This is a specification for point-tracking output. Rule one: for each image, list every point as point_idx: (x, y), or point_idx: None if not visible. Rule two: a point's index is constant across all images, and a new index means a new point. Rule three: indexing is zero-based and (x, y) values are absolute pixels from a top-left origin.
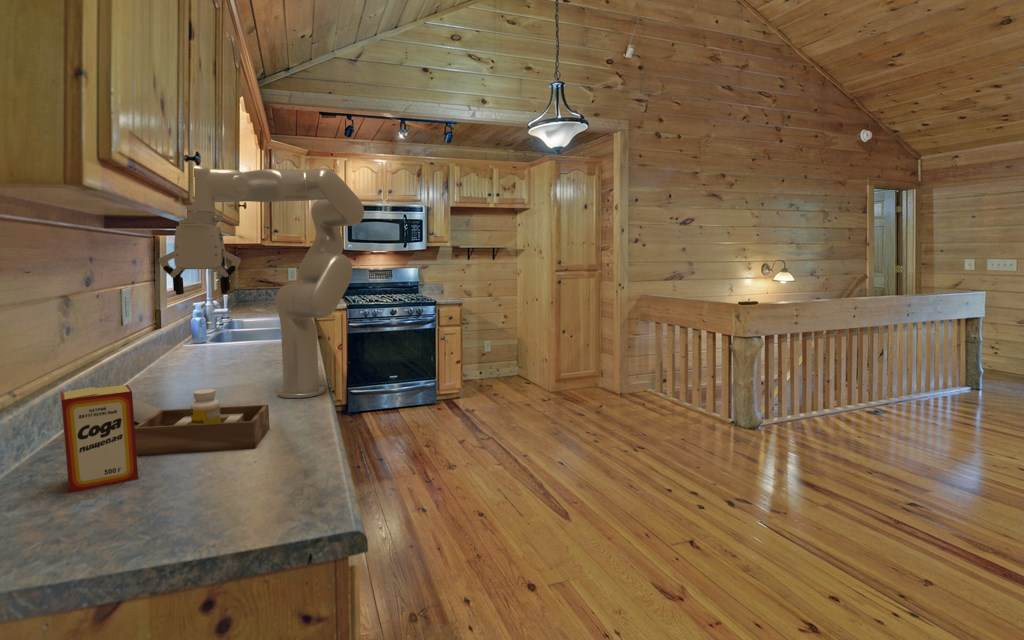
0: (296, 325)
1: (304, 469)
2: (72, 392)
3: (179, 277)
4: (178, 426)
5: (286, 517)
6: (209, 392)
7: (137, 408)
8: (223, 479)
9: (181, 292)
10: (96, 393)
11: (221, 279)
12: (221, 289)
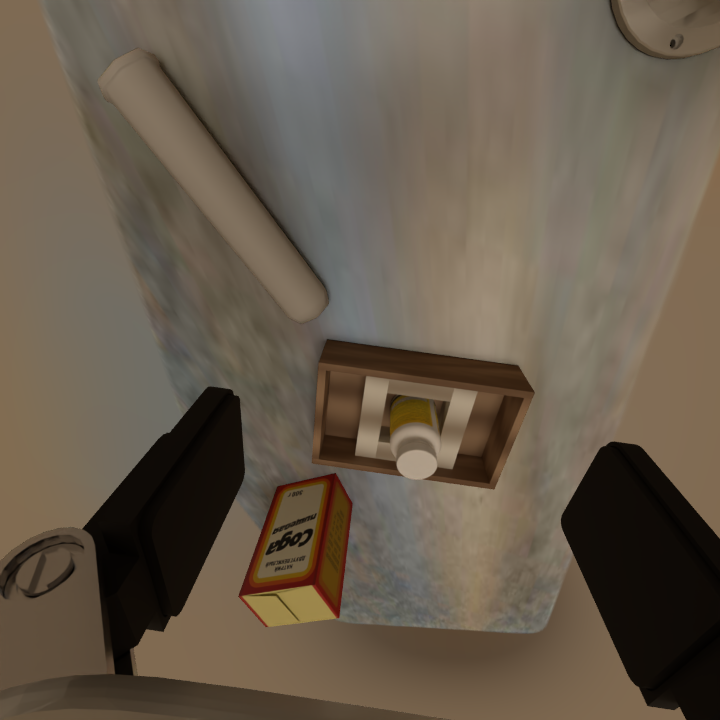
0: None
1: (533, 536)
2: (257, 603)
3: (149, 586)
4: (379, 472)
5: (496, 607)
6: (428, 476)
7: (239, 253)
8: (444, 532)
9: (238, 449)
10: (297, 621)
11: (635, 671)
12: (578, 553)
